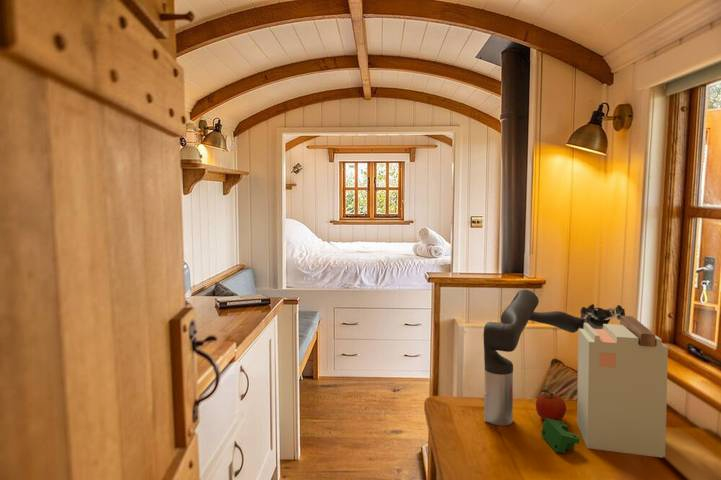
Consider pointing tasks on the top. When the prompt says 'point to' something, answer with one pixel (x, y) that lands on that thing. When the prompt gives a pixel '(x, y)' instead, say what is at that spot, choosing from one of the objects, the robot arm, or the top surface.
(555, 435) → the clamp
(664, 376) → the rail stand
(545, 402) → the fruit
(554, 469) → the top surface
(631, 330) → the walnut bar
